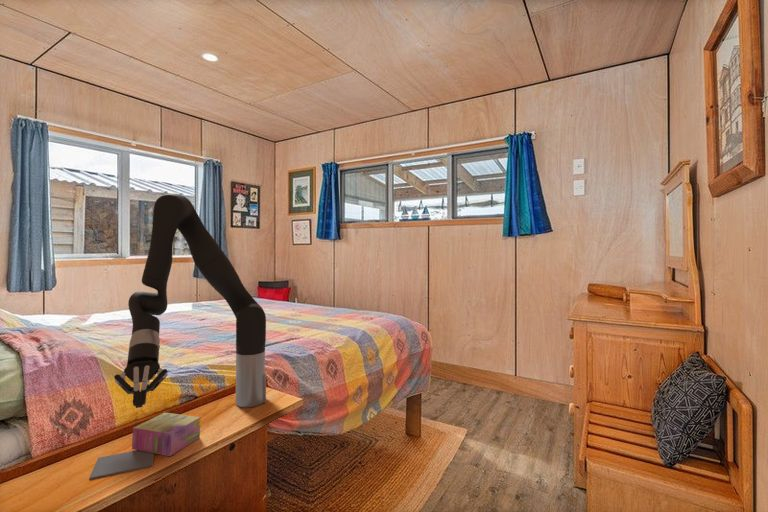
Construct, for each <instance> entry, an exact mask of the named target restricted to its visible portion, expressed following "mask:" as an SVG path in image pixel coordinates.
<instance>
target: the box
mask: <svg viewBox="0 0 768 512" xmlns="http://www.w3.org/2000/svg"><path fill="white" fill-rule="evenodd" d="M200 433H201V417H200V416H193V415H187V414H179V413H173V412H172V413H171V412H163V413H161V414H159V415H157V416H154V417H152V418H151V419H149V420H147V421H145V422H142V423H140V424H138V425H135V426H134V427H132V441H131V449H132V450H133V451H135V450H140V451H145V452H151V453H154V454H155V455H156V454H157V455H163V456H167V457H172V455H174V454H176V453H178V452H179V451H181V450H182V449H184V448H185V447H187V446H188V445H190V444H192V443H193V442H195V441H197V440H198V439H200V435H201V434H200Z"/></svg>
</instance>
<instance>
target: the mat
mask: <svg viewBox="0 0 768 512" xmlns="http://www.w3.org/2000/svg"><path fill="white" fill-rule="evenodd" d="M154 458H155V453H151V452H145V451H140V450H130V451H126V452H120V453H115V454H109V455H106V456H100V457H97V459H96V461H95V464H94V467H93V469H92V471H91V473H90V476H89V479H88V480H89V481H90V480H94V479H99V478H105V477H108V476H112V475H117V474H118V475H119V474H123V473H127V472H131V471H136V470H140V469H145V468H149V467H150V468H151V467H153V464H154Z"/></svg>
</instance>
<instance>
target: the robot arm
mask: <svg viewBox="0 0 768 512" xmlns="http://www.w3.org/2000/svg"><path fill="white" fill-rule="evenodd" d="M177 230H178V231H179V233H180V234H181V235H182V237H183V238H184V240H185V241H186V244H187V246H188V249H189V252H190V255H191V258H192V260H193V262H194V264H195V266H196V268H197V269H198V271H199V272H200V274H201V275H202V276H203V278H204V279H205V280H206V281H207V282H208V284H209V285H210V286H211V287H212V288H213V290H215V291H216V292H217V293H218V294H219V295H220V296H221V297H222V298H224V300H225V301H226V302H227V305H228V306H229V308H230V310H231V311H232V313H233V315H234V317H235V405H236V406H237V407H240V408H253V407H257V406H259V405H262V404H265V402H266V403H267V374H266V343H267V342H266V339H267V335H266V334H267V317H266V313H265V311H264V309H263V307H262V306H261V305H260V304H259V303H258V302H257V301H256V299H255V298H254V297H253V296H252V295H251V293H249V291H248V290H247V289H246V288H245V286H244V284H243V283H242V282H243V281H242V280H241V278H240V276H239V274H238V273H237V270H236V269H235V267H234V266H233V264H232V262H231V261H230V259H229V258H228V257H227V255H226V254H225V252H224V251H223V250H222V249H221V247H220V245H219V244H218V242H217V241H216V240H215V238H214V237H213V235H212V234H211V233H210V232H209V231H208V230H207V228H206V227H205V225H204V224H203V221H202V220H201V218H200V216H199V215H198V212H197V210H196V209H195V207H194V205H193V203H192V202H191V201H190V199H188V197H186V196H184V195H182V194H177V193H167V194H162V195H161V196H159V197H158V198H157V199H156V200H155V202H154V205H153V211H152V228H151V237H150V243H149V244H150V245H149V250H148V253H147V257H146V261H145V264H144V269H143V272H142V277H141V283H142V285H144V286H146V287H148V288H151V289H154V290H156V291H157V292H147V291H136V292H134V293H132V294H131V295H130V296H129V299H128V304H127V305H128V310H129V314H130V317H131V321H132V328H131V329H132V330H131V338H130V341H129V345H128V354H127V361H126V366H125V368H124V369H123V372H121V373H120V374H115V375H114V376H113V377H114V382H115V383H116V384H117V385H118V386H119V387H120V388H121V389H122V390H123V391H124V392H125V393H126V394H127V395H130V394H131V395H133V396H132V405H133V406H134V407H135V408H136V409H139V408H143V406H144V405H146V403H147V394H148V393H149V392H154V391H155V390H156V389H157V388H158V387H159V386H160V384H162V382H163V381H164V380H165V379H166V378H167V376H168V374H169V373H168V369H167V368H164V369H163V368H161V365H160V363H159V358H160V357H159V356H160V346H161V345H160V343H161V342H160V340H161V339H160V328H161V323H160V322H161V321H160V319H159V318H158V317H157V316H162V315H163V314H165V312H166V311H167V309H168V295H167V293H168V292H167V290H168V289H167V287H168V281H169V277H170V273H171V268H172V264H173V245H174V240H175V236H176V232H177ZM156 375H157V376H156ZM155 376H156V377H155ZM126 377H127V378H128V380H129V381H131V383H133V386H131V385H130V383H128V382H127V381H126V380H127V379H126ZM153 378H154V379H153ZM152 379H153V380H152ZM150 381H151V382H150Z"/></svg>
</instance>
